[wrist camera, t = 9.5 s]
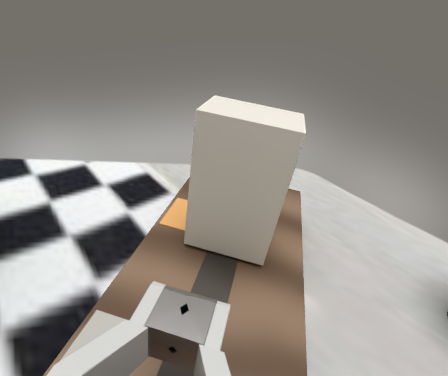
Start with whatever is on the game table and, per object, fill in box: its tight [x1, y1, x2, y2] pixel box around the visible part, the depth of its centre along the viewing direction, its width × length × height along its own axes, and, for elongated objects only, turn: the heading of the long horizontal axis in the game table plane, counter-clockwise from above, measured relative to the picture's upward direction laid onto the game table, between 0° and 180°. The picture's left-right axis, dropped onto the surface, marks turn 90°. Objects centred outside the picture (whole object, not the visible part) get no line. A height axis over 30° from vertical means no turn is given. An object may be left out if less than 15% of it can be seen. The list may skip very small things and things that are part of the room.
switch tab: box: [184, 96, 306, 266], centre depth 18 cm, size 4×6×10 cm, turn 77°
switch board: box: [43, 177, 307, 376], centre depth 20 cm, size 26×12×3 cm, turn 167°
